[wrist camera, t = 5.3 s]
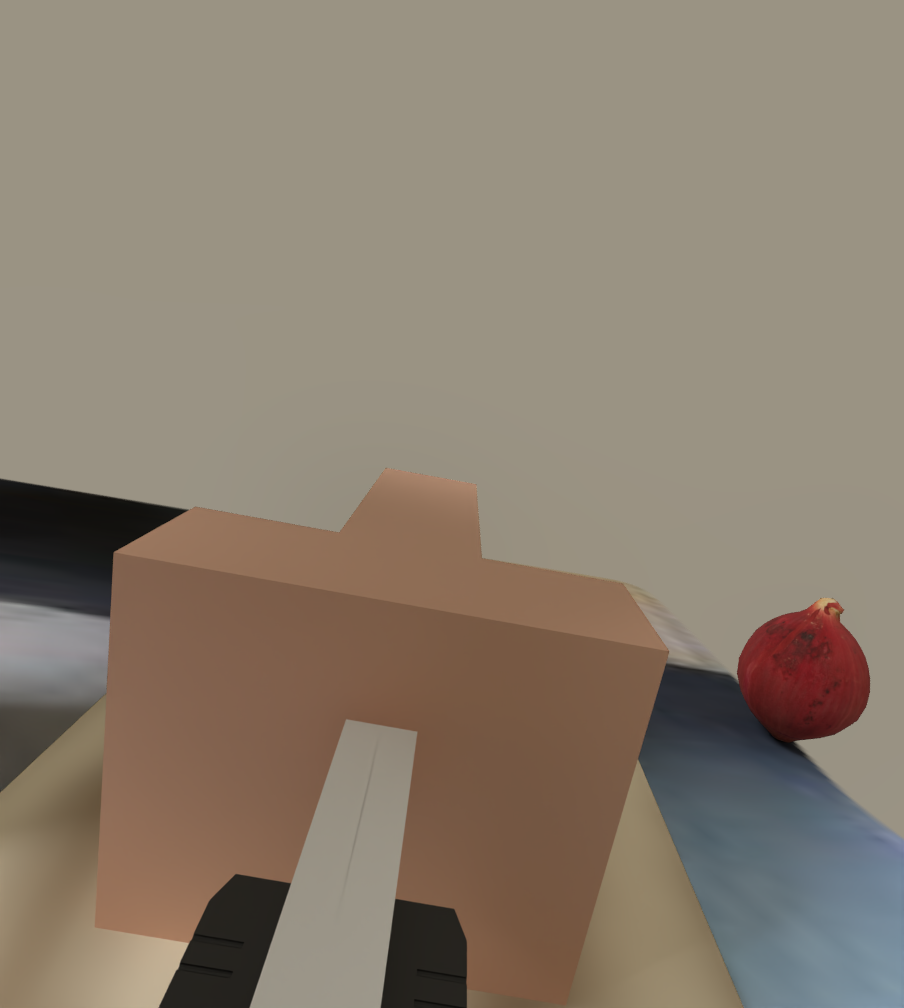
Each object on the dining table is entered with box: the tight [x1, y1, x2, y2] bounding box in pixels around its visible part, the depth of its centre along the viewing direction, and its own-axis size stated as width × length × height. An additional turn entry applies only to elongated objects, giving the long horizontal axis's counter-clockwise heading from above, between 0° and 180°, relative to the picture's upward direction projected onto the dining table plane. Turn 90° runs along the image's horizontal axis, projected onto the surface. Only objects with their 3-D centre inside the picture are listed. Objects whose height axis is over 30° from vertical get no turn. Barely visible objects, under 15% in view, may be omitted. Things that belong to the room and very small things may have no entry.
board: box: [0, 693, 744, 1008], centre depth 29 cm, size 22×36×2 cm, turn 179°
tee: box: [95, 468, 669, 1005], centre depth 21 cm, size 12×14×10 cm
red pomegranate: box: [737, 598, 870, 742], centre depth 31 cm, size 6×6×8 cm
